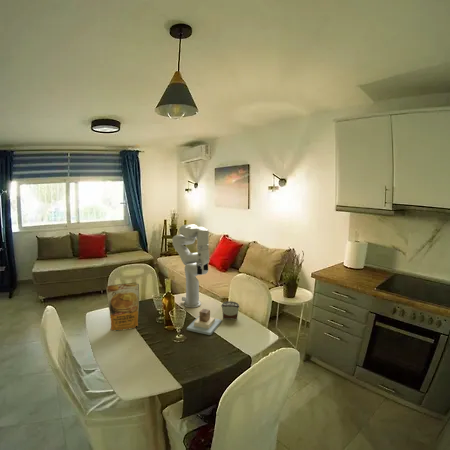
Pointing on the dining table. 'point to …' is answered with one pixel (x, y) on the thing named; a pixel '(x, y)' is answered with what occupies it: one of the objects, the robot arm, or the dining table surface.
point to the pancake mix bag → (123, 305)
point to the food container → (230, 310)
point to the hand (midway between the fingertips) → (202, 272)
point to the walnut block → (204, 315)
